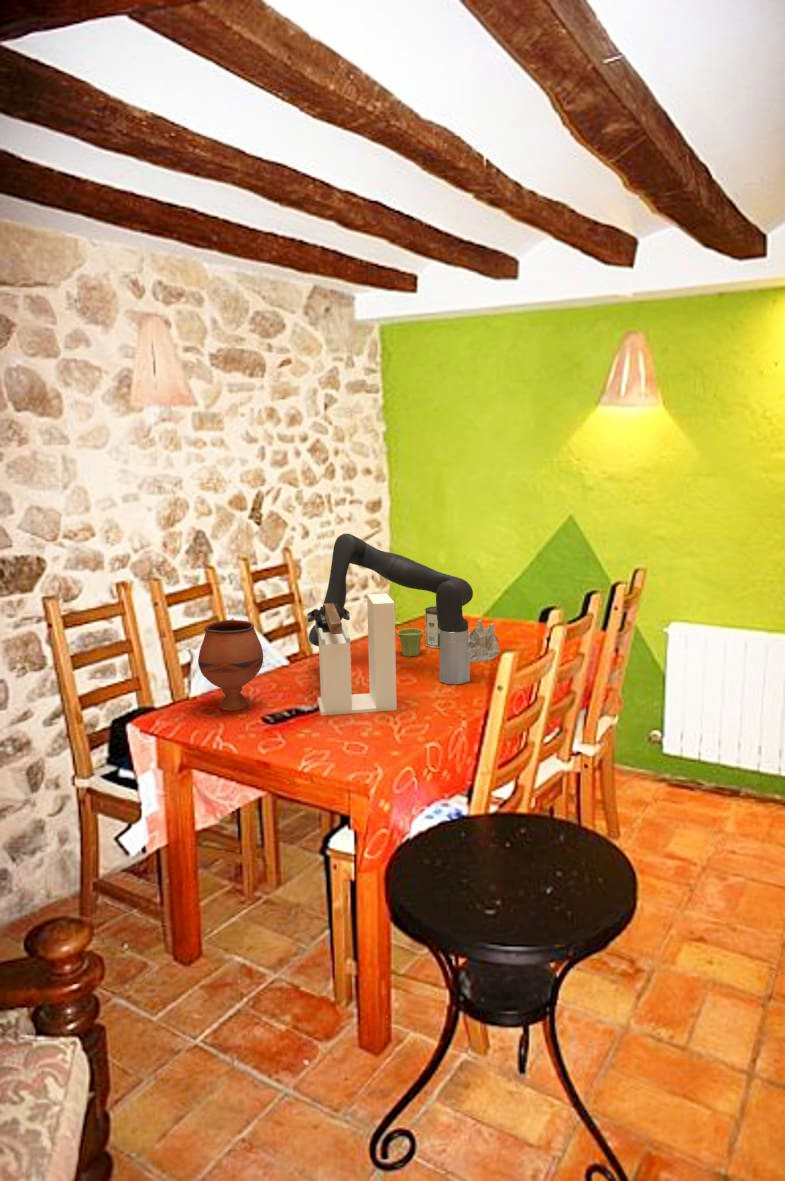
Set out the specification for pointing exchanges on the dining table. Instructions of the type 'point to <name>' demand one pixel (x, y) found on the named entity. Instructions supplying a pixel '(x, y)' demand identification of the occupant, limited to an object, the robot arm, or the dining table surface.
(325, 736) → the dining table surface
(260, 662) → the goblet
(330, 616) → the walnut baton
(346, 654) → the stand
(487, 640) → the ceramic cottage
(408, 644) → the plant pot
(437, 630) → the coffee can
